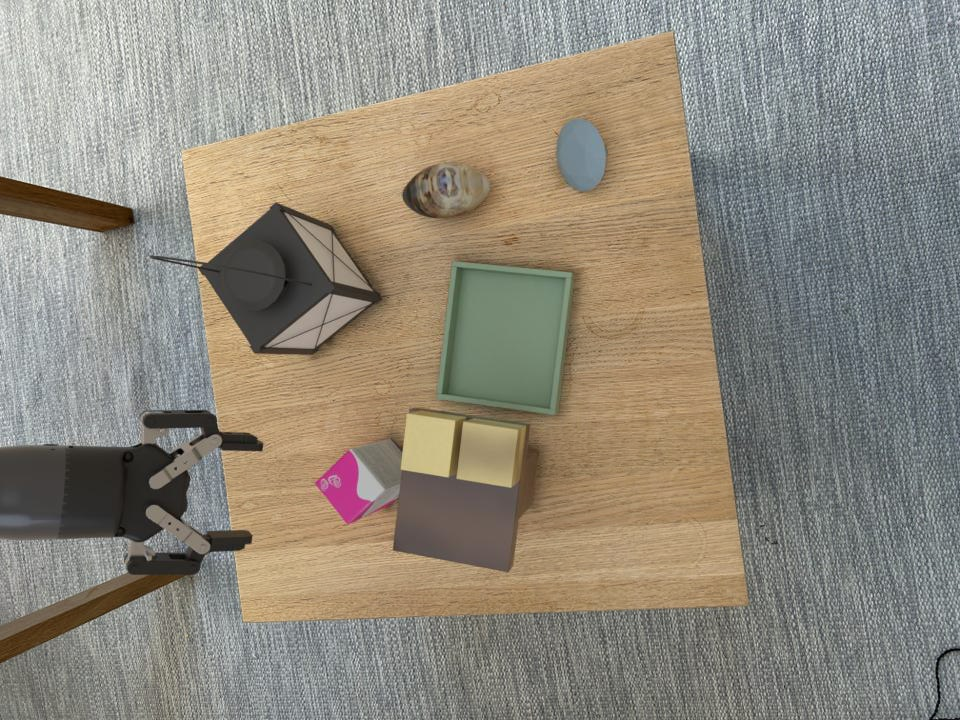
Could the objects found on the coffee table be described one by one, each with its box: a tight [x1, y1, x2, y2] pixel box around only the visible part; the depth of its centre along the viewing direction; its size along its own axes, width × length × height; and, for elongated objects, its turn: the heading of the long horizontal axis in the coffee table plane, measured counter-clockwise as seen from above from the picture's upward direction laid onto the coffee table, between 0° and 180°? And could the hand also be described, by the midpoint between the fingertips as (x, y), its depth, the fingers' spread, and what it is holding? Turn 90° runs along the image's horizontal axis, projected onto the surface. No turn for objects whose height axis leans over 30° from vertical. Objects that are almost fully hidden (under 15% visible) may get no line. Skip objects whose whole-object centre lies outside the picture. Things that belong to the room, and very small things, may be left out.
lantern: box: [149, 201, 383, 356], centre depth 77 cm, size 11×11×28 cm
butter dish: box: [435, 260, 576, 416], centre depth 84 cm, size 15×13×3 cm
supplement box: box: [314, 438, 403, 525], centre depth 83 cm, size 6×6×12 cm
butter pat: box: [401, 411, 466, 477], centre depth 62 cm, size 4×4×4 cm
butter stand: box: [392, 407, 540, 573], centre depth 73 cm, size 12×10×26 cm
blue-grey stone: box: [555, 117, 608, 193], centre depth 82 cm, size 8×8×5 cm
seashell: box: [401, 162, 491, 219], centre depth 83 cm, size 10×6×8 cm, turn 98°
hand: (255, 491), depth 71 cm, fingers open, 8 cm apart
